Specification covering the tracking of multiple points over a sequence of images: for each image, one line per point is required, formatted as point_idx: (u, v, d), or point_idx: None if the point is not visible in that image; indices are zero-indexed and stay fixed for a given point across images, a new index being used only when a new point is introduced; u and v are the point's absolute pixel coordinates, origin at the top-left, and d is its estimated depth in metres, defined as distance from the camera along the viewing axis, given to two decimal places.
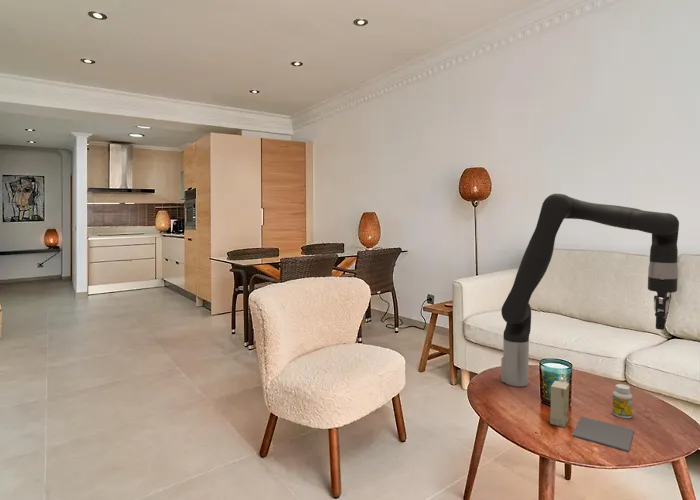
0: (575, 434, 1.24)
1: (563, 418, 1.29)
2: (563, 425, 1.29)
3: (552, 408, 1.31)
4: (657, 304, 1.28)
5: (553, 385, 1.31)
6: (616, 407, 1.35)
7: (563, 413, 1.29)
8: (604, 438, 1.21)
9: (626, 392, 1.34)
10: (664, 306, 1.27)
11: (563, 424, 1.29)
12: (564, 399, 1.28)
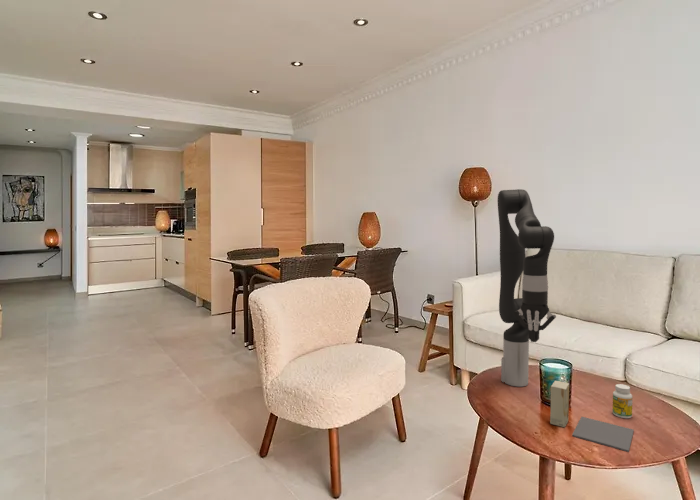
0: (575, 434, 1.24)
1: (563, 418, 1.29)
2: (563, 425, 1.29)
3: (552, 408, 1.31)
4: (550, 322, 1.31)
5: (553, 385, 1.31)
6: (616, 407, 1.35)
7: (563, 413, 1.29)
8: (604, 438, 1.21)
9: (626, 392, 1.34)
10: None
11: (563, 424, 1.29)
12: (564, 399, 1.28)
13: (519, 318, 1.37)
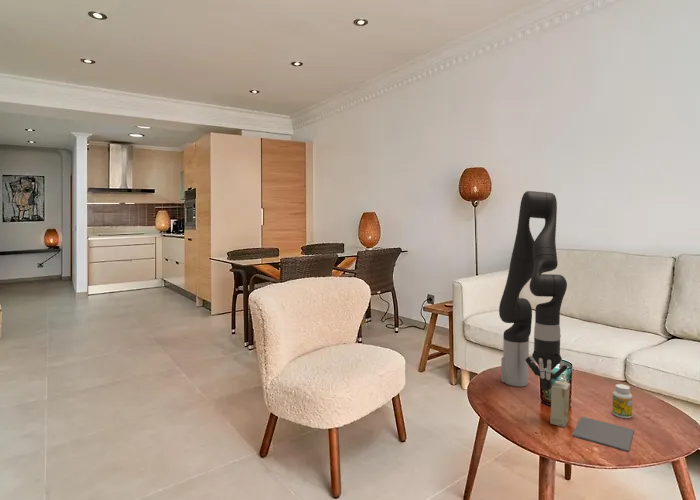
0: (575, 434, 1.24)
1: (563, 418, 1.29)
2: (563, 425, 1.29)
3: (552, 408, 1.31)
4: None
5: (554, 385, 1.31)
6: (616, 407, 1.35)
7: (563, 413, 1.29)
8: (604, 438, 1.21)
9: (626, 392, 1.34)
10: None
11: (563, 424, 1.29)
12: (565, 399, 1.28)
13: (531, 365, 1.35)
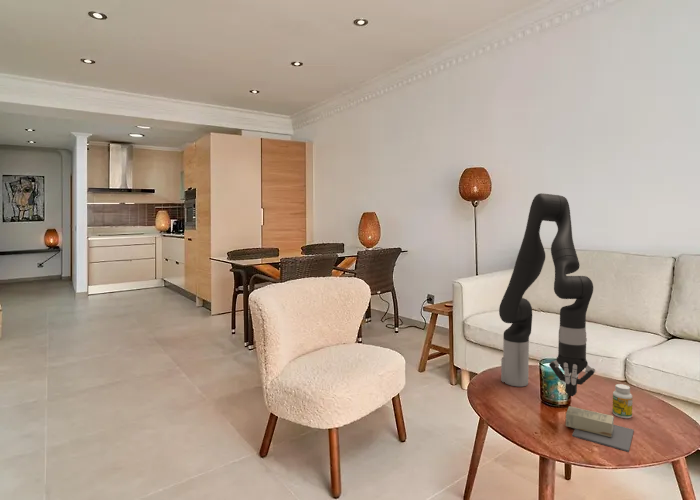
0: (575, 434, 1.24)
1: (575, 427, 1.27)
2: (567, 425, 1.28)
3: (584, 419, 1.25)
4: (589, 377, 1.25)
5: (612, 424, 1.22)
6: (616, 407, 1.35)
7: (581, 428, 1.26)
8: (604, 438, 1.21)
9: (626, 392, 1.34)
10: None
11: (568, 425, 1.28)
12: (598, 433, 1.23)
13: (555, 370, 1.31)
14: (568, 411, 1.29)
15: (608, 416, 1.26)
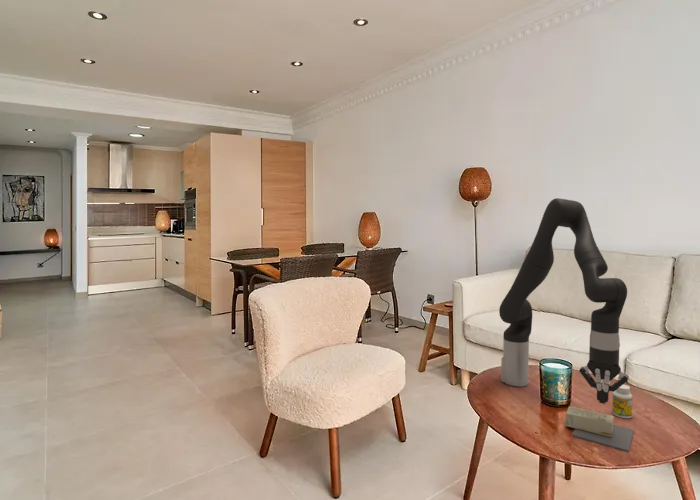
0: (575, 434, 1.24)
1: (575, 427, 1.27)
2: (567, 425, 1.28)
3: (584, 419, 1.25)
4: None
5: (612, 424, 1.22)
6: (616, 407, 1.35)
7: (581, 428, 1.26)
8: (604, 438, 1.21)
9: (626, 392, 1.34)
10: None
11: (568, 425, 1.28)
12: (598, 433, 1.23)
13: (586, 376, 1.26)
14: (568, 411, 1.29)
15: (608, 416, 1.26)
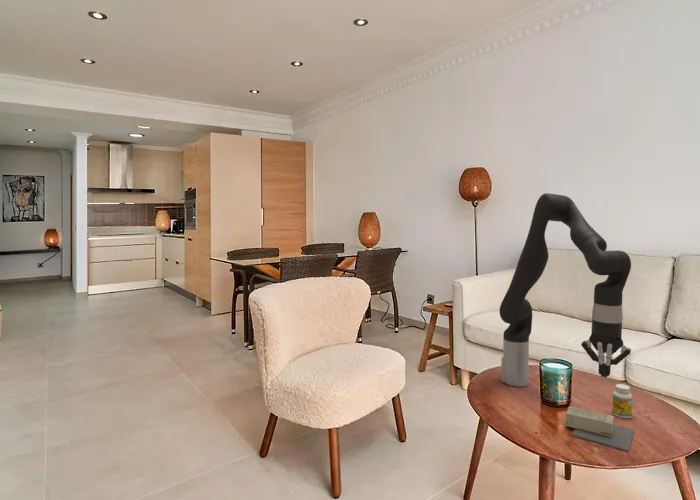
0: (575, 434, 1.24)
1: (575, 427, 1.27)
2: (567, 425, 1.28)
3: (584, 419, 1.25)
4: None
5: (612, 424, 1.22)
6: (616, 407, 1.35)
7: (581, 428, 1.26)
8: (604, 438, 1.21)
9: (626, 392, 1.34)
10: None
11: (568, 425, 1.28)
12: (598, 433, 1.23)
13: (588, 350, 1.25)
14: (568, 411, 1.29)
15: (608, 416, 1.26)
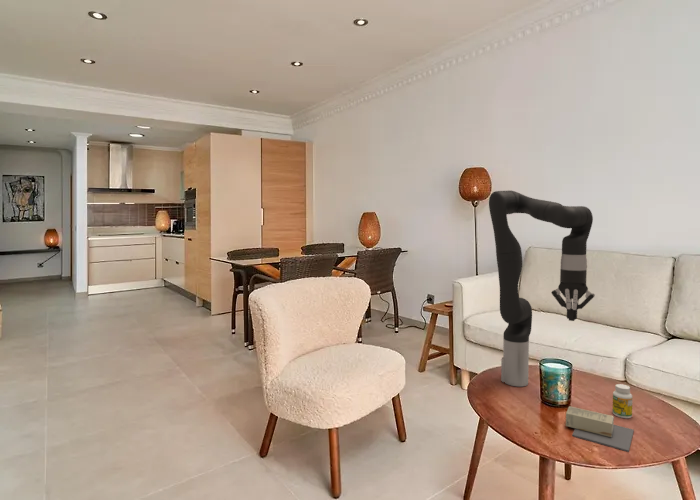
0: (575, 434, 1.24)
1: (575, 427, 1.27)
2: (567, 425, 1.28)
3: (584, 419, 1.25)
4: None
5: (612, 424, 1.22)
6: (616, 407, 1.35)
7: (581, 428, 1.26)
8: (604, 438, 1.21)
9: (626, 392, 1.34)
10: None
11: (568, 425, 1.28)
12: (598, 433, 1.23)
13: (557, 297, 1.38)
14: (568, 411, 1.29)
15: (608, 416, 1.26)
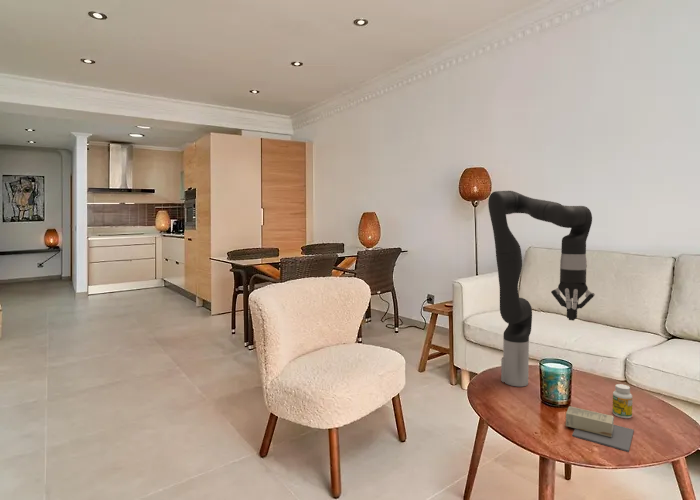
0: (575, 434, 1.24)
1: (575, 427, 1.27)
2: (567, 425, 1.28)
3: (584, 419, 1.25)
4: (589, 300, 1.33)
5: (612, 424, 1.22)
6: (616, 407, 1.35)
7: (581, 428, 1.26)
8: (604, 438, 1.21)
9: (626, 392, 1.34)
10: None
11: (568, 425, 1.28)
12: (598, 433, 1.23)
13: (557, 297, 1.38)
14: (568, 411, 1.29)
15: (608, 416, 1.26)
